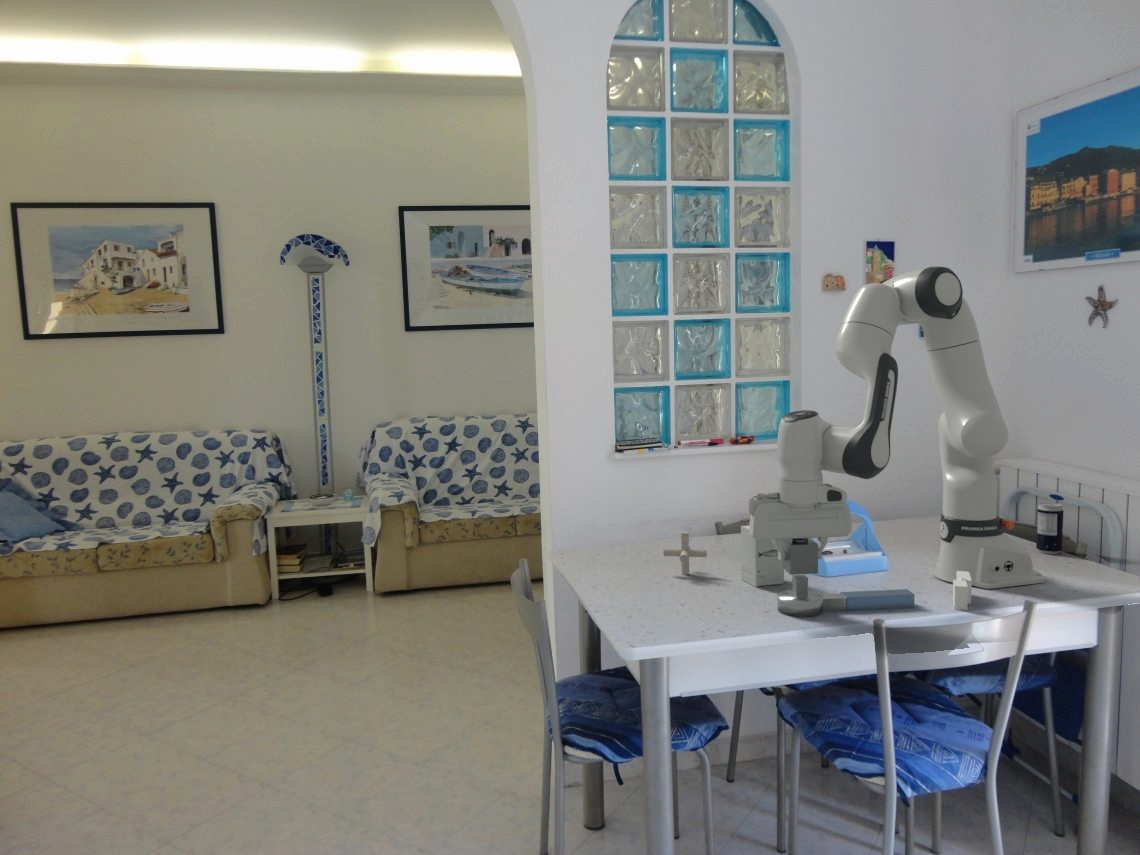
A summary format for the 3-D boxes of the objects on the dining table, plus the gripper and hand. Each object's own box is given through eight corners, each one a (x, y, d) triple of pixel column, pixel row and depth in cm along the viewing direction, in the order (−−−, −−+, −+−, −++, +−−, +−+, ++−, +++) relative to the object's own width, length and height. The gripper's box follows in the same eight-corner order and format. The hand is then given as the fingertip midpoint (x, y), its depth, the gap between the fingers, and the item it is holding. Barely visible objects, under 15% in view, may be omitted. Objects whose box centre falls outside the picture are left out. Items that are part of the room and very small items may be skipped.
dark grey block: (808, 565, 180) (809, 534, 180) (818, 573, 175) (818, 541, 174) (782, 567, 180) (782, 535, 179) (790, 574, 175) (790, 542, 174)
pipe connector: (705, 580, 201) (705, 537, 200) (662, 579, 203) (661, 537, 202) (707, 568, 211) (707, 528, 210) (666, 567, 213) (665, 527, 212)
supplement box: (755, 587, 194) (754, 532, 193) (740, 579, 202) (739, 525, 200) (785, 584, 196) (785, 529, 195) (769, 575, 203) (768, 522, 202)
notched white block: (956, 590, 189) (956, 565, 189) (1006, 603, 180) (1006, 576, 179) (911, 604, 181) (912, 577, 181) (961, 618, 172) (962, 590, 171)
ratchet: (900, 598, 184) (901, 565, 183) (920, 611, 175) (920, 577, 174) (772, 604, 182) (772, 571, 182) (785, 618, 173) (785, 583, 173)
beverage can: (1066, 554, 214) (1068, 506, 213) (1043, 555, 214) (1044, 507, 213) (1054, 548, 219) (1056, 501, 218) (1031, 549, 220) (1033, 502, 218)
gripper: (753, 496, 172) (753, 565, 173) (855, 492, 173) (854, 561, 174) (744, 491, 178) (745, 557, 180) (843, 487, 179) (843, 553, 181)
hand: (800, 559), depth 177 cm, fingers closed on dark grey block, 6 cm apart
